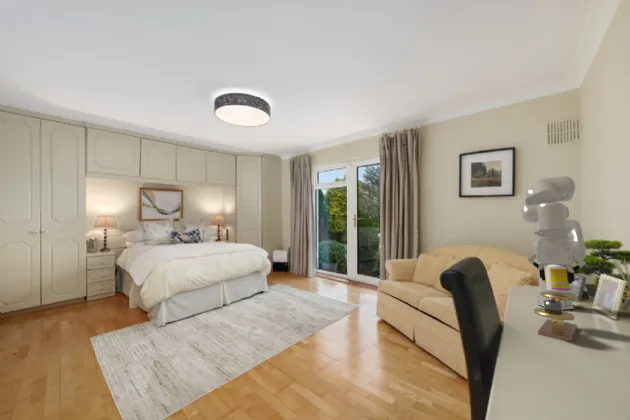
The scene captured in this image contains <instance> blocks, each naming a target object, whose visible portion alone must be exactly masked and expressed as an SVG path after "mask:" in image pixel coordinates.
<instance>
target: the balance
mask: <svg viewBox="0 0 630 420" xmlns="http://www.w3.org/2000/svg"><path fill="white" fill-rule="evenodd" d="M539 294H540V295H541V296H543V297H547V298H549V300H544V307H535V308H534V309H533V313H534V314H535V315H538V316H541V317H545V318H547V319H546V321H544V323H543V324H542V325H541V326H540V328H539V329H538V330H537V335H541V336H544V337H548V338H553V339H558V340H561V341H565V342H570V343H572V342H573V339H574V337H575V334H576V333H577V331H578V329H579V328H578V324H575V323H570V322H565V321H574V320H575V319H576V317H575V315H574V314H572V313H570V312H567V311H565V310H562V304H561V300H568V302H569V301H572V302H573V301H578V296H577V295H573V294H570V293H567V294H565V293H557V292H540V291H539ZM555 299H557V301H555ZM576 330H577V331H576Z"/></svg>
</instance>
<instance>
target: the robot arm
mask: <svg viewBox="0 0 630 420" xmlns="http://www.w3.org/2000/svg"><path fill="white" fill-rule="evenodd" d="M575 192H576V183H575V181H574V180H573V178H571V177H569V176H558V177H557V176H555V177H548V178H547V177H545V178H541V179H538V180H535V181H534V183H532V186H531V188H529V189H527V190H526V191H525V198H524V199H523V201H522V204H521V215H522V219H523V220H524V221H525V222H527V223H534V226H535V227H534V228H535V231H534V236H537V238H536V241H534V242H533V251H534V252H533V253H534V254H533V255H532V256H530V257H529V258H528V259H527V261H528V262H529V263H530V264H532V265H533V266H534V268H537V277H538V287H539V288H538V289H539V294H536V295H535V297H536V298H538V299H539V300H536V302H535V303H536V305H537V304H539V305H542V306H544V300H549V298H547V297H543V296H541V295H540V292H552V291H548V290H547V289H546V285H545V274H544V265H545V264H556V265H565V266H566V267H567V269H568V281H569V283H570V285H572V284H573V283H574V282H575V272H577V271H578V270H579V269H581V268H582V267H584V266H585V265H586V262H585V261H584V260H585V258H586V256H587V251H586V250H587V249H586V245H585V239H584V235H583V230H582V226H581V224H580V222H579V221H577V220H575V219H573V218H572V219H571V218H570V219H569V217H570V211H569V207H567V206H566V205H565V204H564V203H561V202H568V201H571V200H572V199H573V197H574V194H575ZM535 259H536V261H535ZM575 261H576V262H577V263H578V264H577V265H575V266H574V267H573V266H572V265H573V264H574V263H575ZM565 294H568V293H565ZM555 301H557V299H555ZM561 304H562V309H573V310H574V306H573V305H572V306H569V305H570V304H569V301H568V300H561ZM539 305H538V306H539ZM542 306H541V307H542Z"/></svg>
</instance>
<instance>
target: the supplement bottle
mask: <svg viewBox="0 0 630 420" xmlns="http://www.w3.org/2000/svg"><path fill="white" fill-rule="evenodd" d="M568 272H569V270H568V269H567V267H566V266H565V265H556V264H545V265H544V274H545V285H546V289H547V290H548V291H552V292H557V293H567V294H570V292H571V284H570V283H569V281H568Z"/></svg>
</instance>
